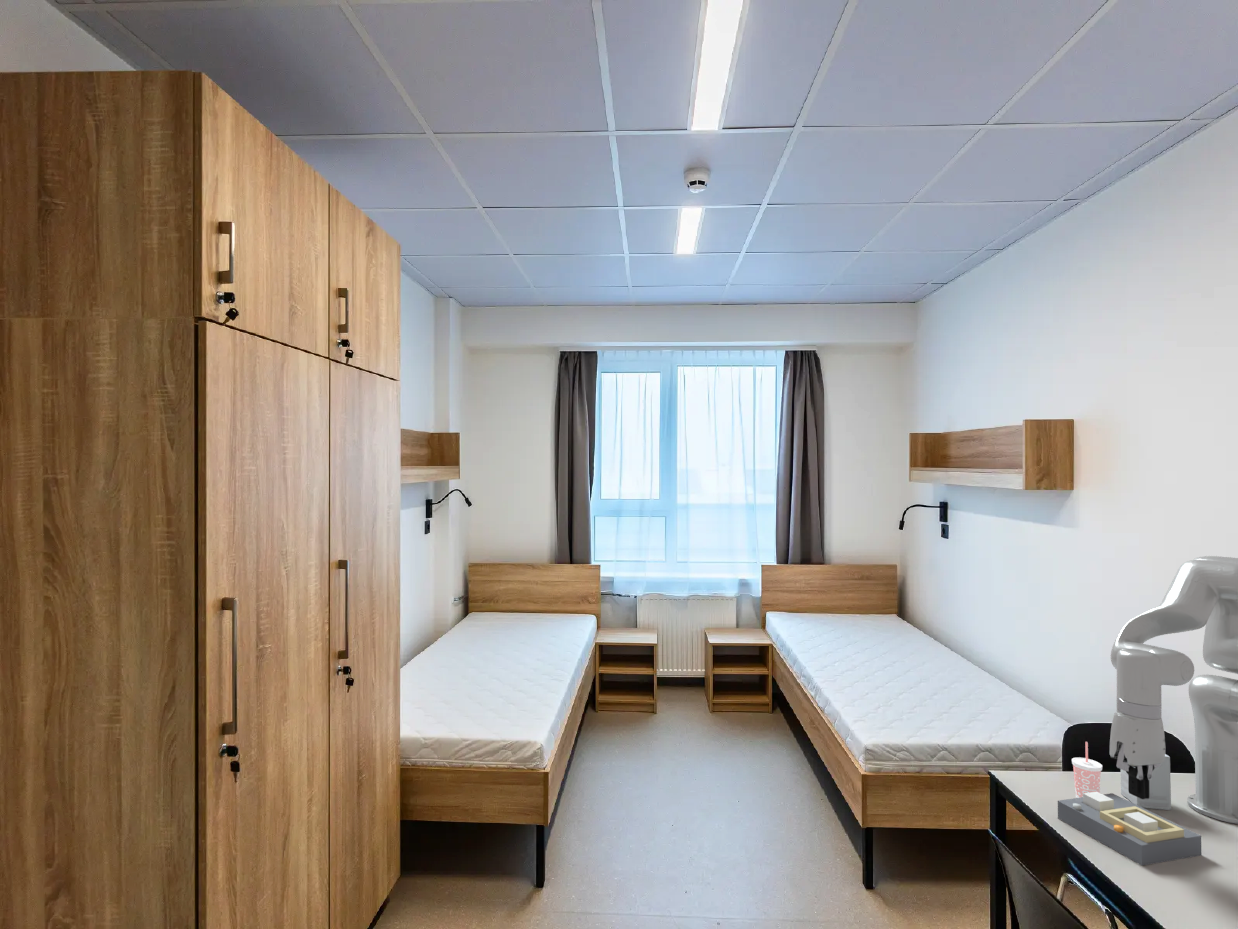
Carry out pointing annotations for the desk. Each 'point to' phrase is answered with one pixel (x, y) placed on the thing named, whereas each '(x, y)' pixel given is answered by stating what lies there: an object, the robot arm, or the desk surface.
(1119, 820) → the gray panel board
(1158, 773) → the supplement box
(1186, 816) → the desk surface
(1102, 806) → the block
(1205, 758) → the robot arm
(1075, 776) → the beverage cup
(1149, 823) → the block
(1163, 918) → the desk surface
